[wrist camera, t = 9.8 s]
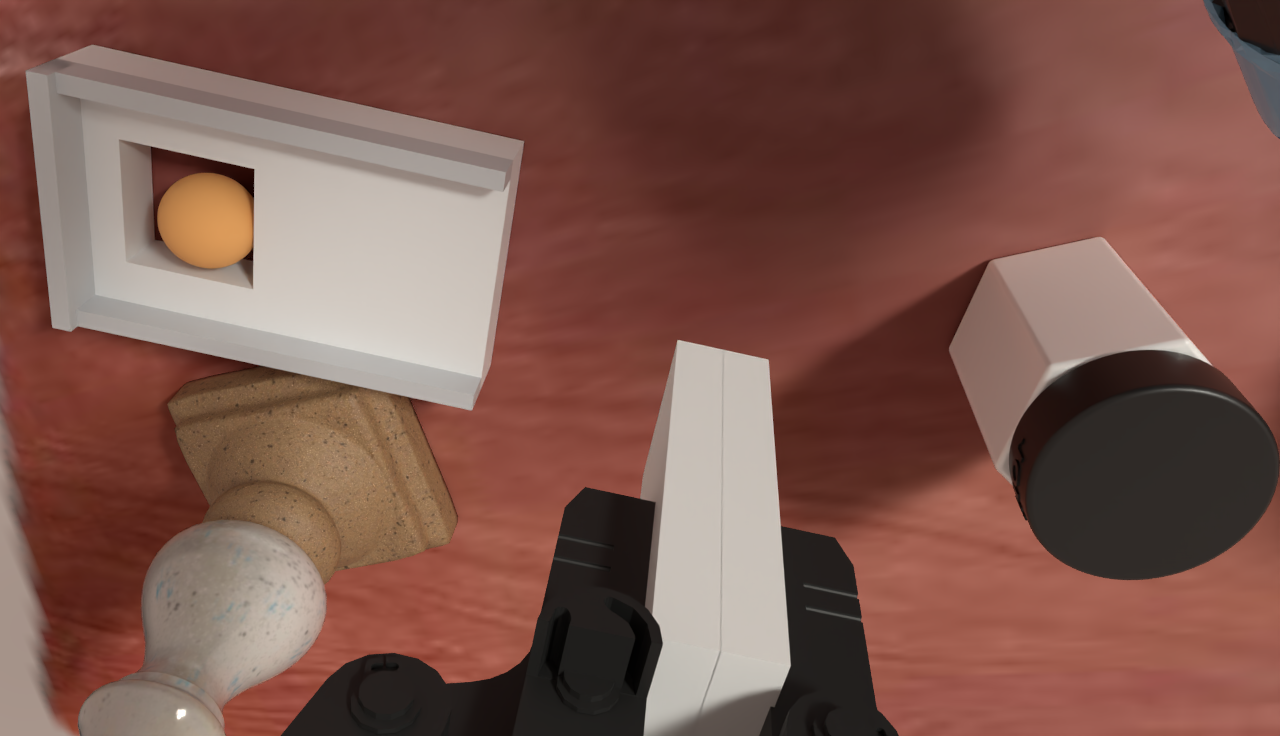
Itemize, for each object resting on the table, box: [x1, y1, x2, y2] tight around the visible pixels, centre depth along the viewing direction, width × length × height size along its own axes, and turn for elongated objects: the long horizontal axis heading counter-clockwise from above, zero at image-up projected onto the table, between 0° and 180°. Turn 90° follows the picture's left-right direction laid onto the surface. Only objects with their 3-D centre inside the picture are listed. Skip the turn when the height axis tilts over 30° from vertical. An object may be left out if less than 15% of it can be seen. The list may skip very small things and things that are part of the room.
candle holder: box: [78, 366, 458, 736], centre depth 40 cm, size 11×11×24 cm
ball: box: [157, 173, 254, 269], centre depth 42 cm, size 4×4×4 cm
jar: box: [949, 237, 1280, 580], centre depth 39 cm, size 9×8×12 cm
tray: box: [26, 45, 524, 410], centre depth 42 cm, size 11×18×4 cm, turn 78°
